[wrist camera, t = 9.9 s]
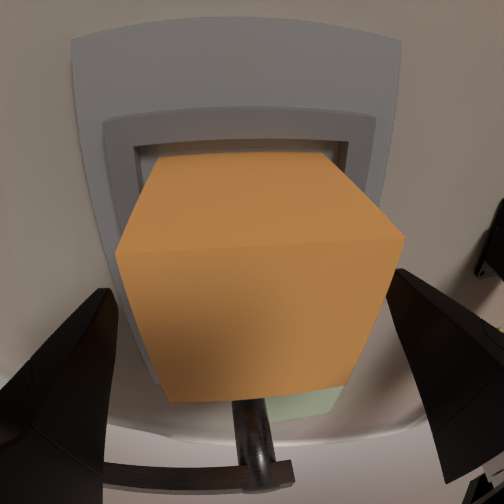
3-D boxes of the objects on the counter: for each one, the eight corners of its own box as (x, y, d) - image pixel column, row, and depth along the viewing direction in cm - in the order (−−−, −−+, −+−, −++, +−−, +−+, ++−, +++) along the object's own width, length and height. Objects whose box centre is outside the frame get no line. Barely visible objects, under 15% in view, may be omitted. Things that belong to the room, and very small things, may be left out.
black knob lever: (269, 346, 17) (297, 483, 10) (266, 369, 18) (290, 491, 12) (-7, 342, 15) (-41, 439, 8) (8, 363, 16) (-18, 455, 9)
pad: (353, 358, 21) (355, 362, 21) (328, 409, 26) (329, 412, 26) (234, 374, 20) (234, 378, 20) (237, 421, 26) (237, 425, 25)
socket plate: (388, 41, 9) (413, 41, 8) (324, 359, 21) (331, 380, 19) (81, 40, 8) (61, 38, 6) (155, 373, 19) (154, 395, 18)
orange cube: (321, 152, 11) (405, 238, 6) (305, 276, 14) (345, 385, 10) (158, 156, 10) (114, 254, 5) (176, 284, 14) (168, 403, 9)
